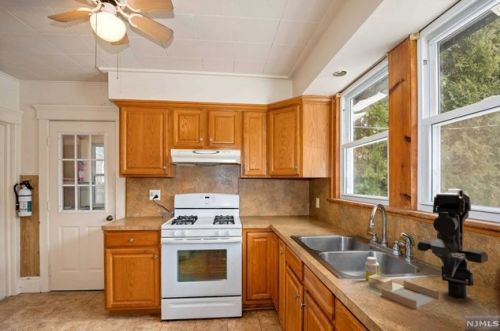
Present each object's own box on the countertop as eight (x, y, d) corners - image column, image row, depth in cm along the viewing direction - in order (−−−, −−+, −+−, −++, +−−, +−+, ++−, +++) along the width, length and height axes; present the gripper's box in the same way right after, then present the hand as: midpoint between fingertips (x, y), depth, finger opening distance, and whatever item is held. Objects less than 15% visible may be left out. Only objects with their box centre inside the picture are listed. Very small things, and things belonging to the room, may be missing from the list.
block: (368, 286, 108) (368, 276, 108) (376, 284, 111) (375, 274, 111) (385, 292, 102) (384, 282, 102) (392, 290, 105) (392, 279, 105)
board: (438, 301, 98) (438, 290, 98) (415, 313, 90) (414, 301, 90) (386, 283, 115) (386, 274, 115) (362, 291, 107) (362, 281, 107)
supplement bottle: (374, 279, 120) (374, 255, 121) (382, 283, 115) (381, 259, 115) (363, 279, 120) (362, 256, 120) (369, 284, 114) (369, 260, 115)
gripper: (408, 227, 95) (409, 272, 94) (472, 237, 79) (474, 291, 78) (424, 225, 101) (425, 267, 100) (487, 233, 85) (489, 284, 84)
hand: (450, 276), depth 91 cm, fingers closed
